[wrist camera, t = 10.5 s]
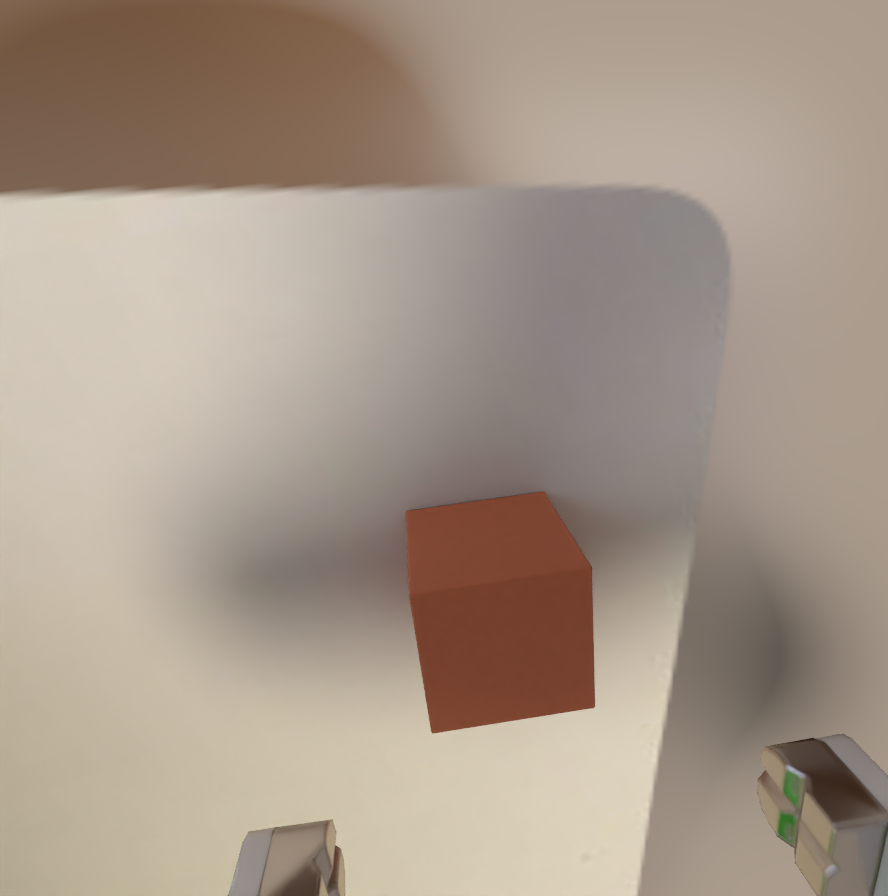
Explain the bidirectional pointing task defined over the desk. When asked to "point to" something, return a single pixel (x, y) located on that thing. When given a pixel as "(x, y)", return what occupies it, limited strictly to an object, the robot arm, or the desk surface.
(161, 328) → the desk surface
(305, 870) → the robot arm
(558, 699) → the block
